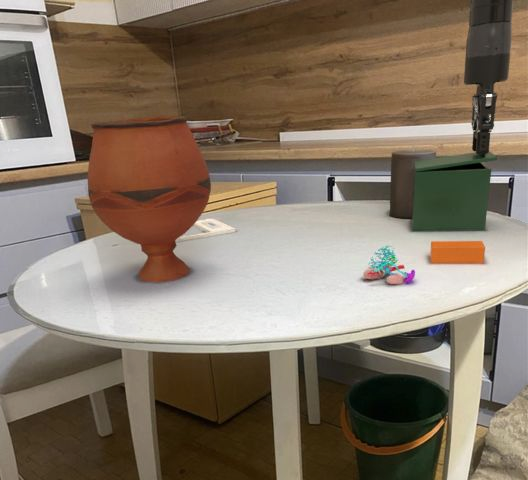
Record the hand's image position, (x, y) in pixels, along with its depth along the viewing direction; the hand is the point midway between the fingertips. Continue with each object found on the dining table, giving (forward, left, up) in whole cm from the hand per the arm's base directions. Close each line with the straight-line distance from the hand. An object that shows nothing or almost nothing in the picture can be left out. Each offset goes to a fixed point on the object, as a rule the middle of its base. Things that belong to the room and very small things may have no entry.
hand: (479, 152), depth 103 cm
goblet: (+53, +35, -14) cm, 65 cm away
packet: (+5, +26, -14) cm, 30 cm away
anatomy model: (+16, +37, -14) cm, 43 cm away
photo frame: (+61, +4, -14) cm, 63 cm away
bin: (+5, 0, -14) cm, 15 cm away
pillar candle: (+12, -13, -14) cm, 23 cm away
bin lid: (+5, 0, -2) cm, 5 cm away
